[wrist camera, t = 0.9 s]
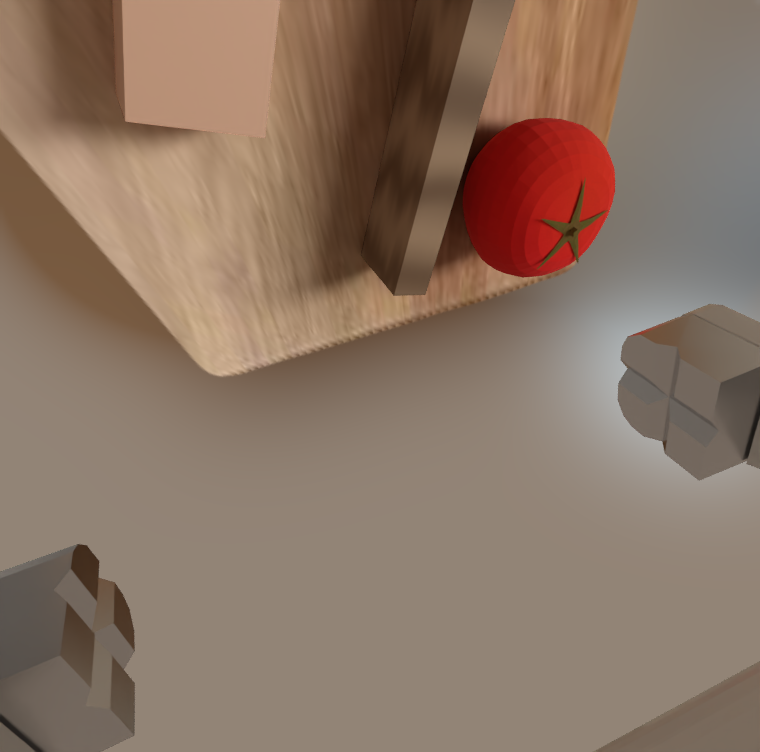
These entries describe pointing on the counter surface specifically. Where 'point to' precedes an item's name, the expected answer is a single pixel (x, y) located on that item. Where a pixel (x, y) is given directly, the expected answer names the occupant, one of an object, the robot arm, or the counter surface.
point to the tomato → (537, 196)
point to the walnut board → (431, 135)
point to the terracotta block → (195, 63)
